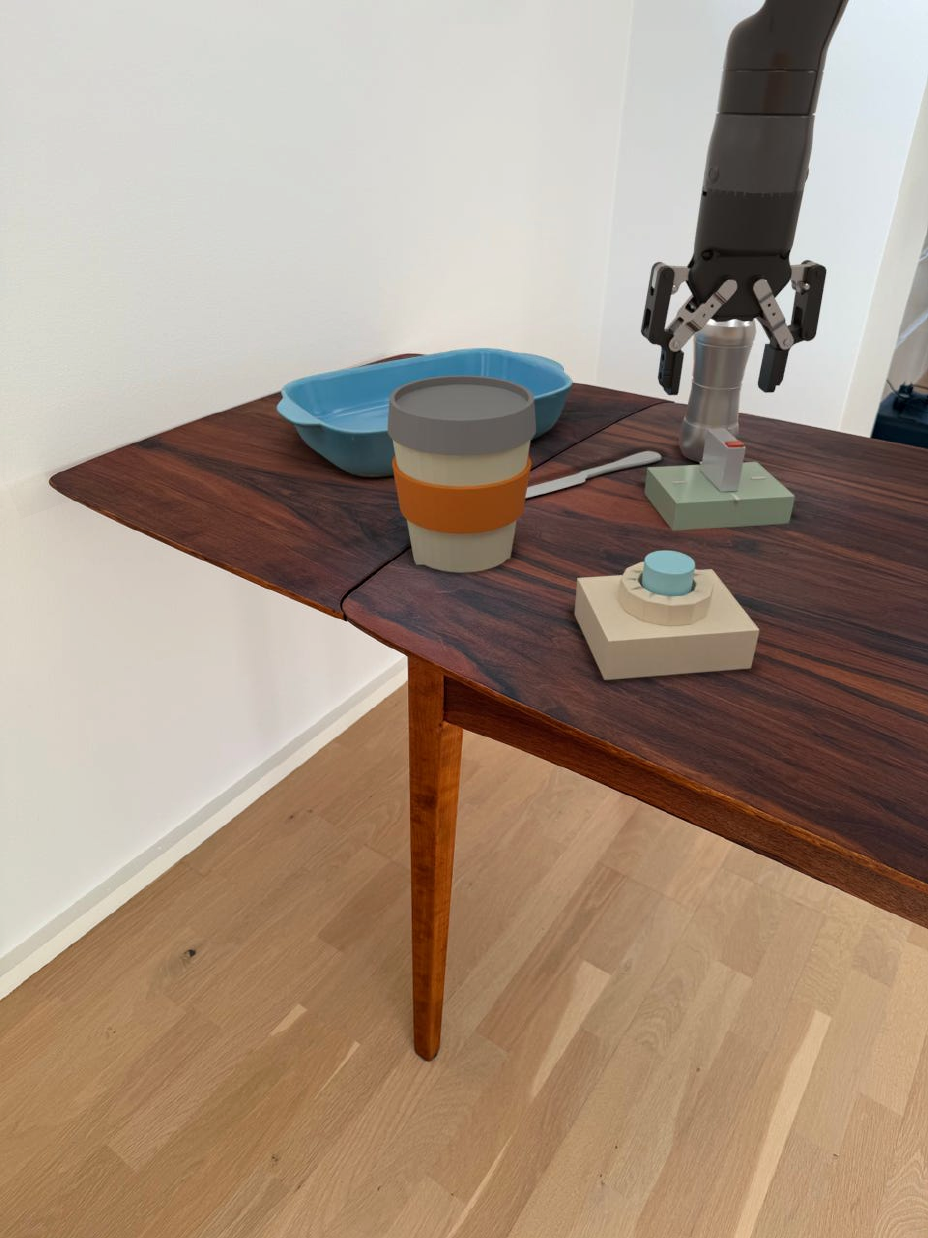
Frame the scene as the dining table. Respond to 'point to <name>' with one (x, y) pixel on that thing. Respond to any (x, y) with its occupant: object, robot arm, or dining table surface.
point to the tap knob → (723, 459)
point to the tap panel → (717, 498)
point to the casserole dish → (359, 397)
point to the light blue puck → (668, 573)
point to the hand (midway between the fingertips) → (717, 391)
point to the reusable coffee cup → (461, 467)
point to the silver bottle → (715, 382)
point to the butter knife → (594, 473)
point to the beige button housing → (663, 626)
